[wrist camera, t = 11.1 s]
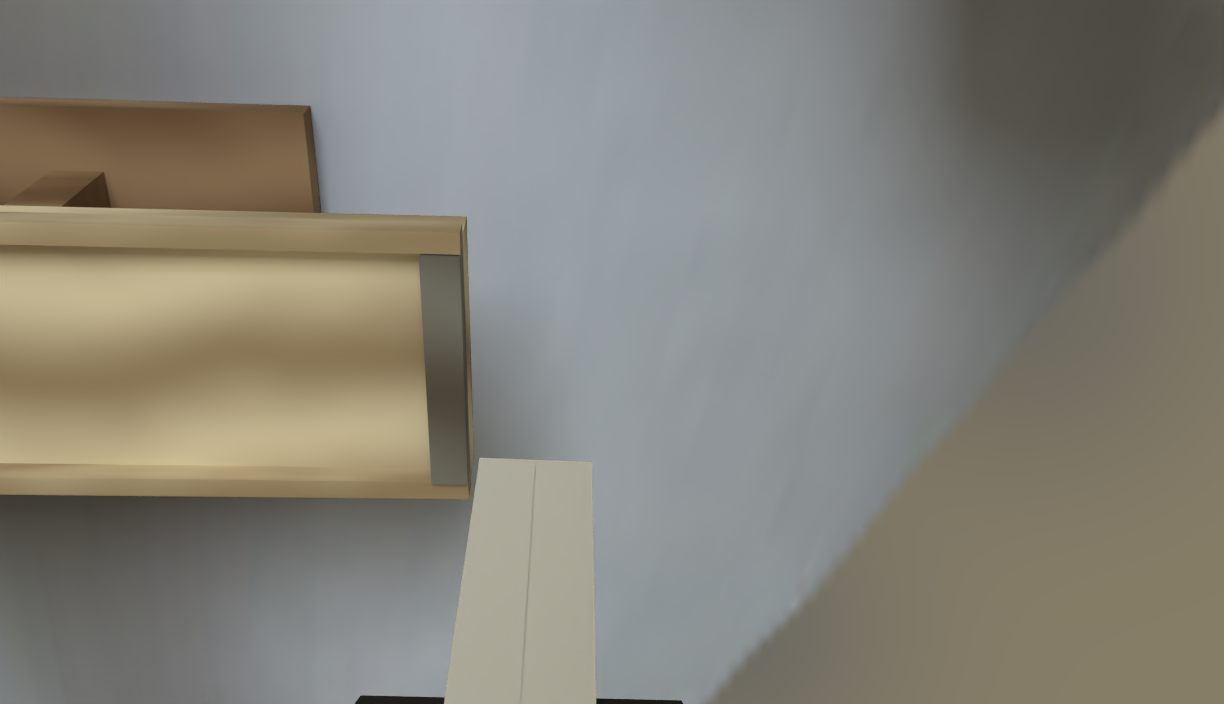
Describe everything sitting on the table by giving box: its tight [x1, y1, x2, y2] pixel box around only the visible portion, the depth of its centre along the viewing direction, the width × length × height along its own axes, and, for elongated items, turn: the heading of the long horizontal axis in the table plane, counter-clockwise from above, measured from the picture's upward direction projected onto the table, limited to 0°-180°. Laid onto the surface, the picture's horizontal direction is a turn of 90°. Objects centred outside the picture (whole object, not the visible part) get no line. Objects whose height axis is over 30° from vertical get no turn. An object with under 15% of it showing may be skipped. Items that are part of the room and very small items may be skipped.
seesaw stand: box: [0, 97, 321, 213], centre depth 38 cm, size 10×18×9 cm, turn 88°
